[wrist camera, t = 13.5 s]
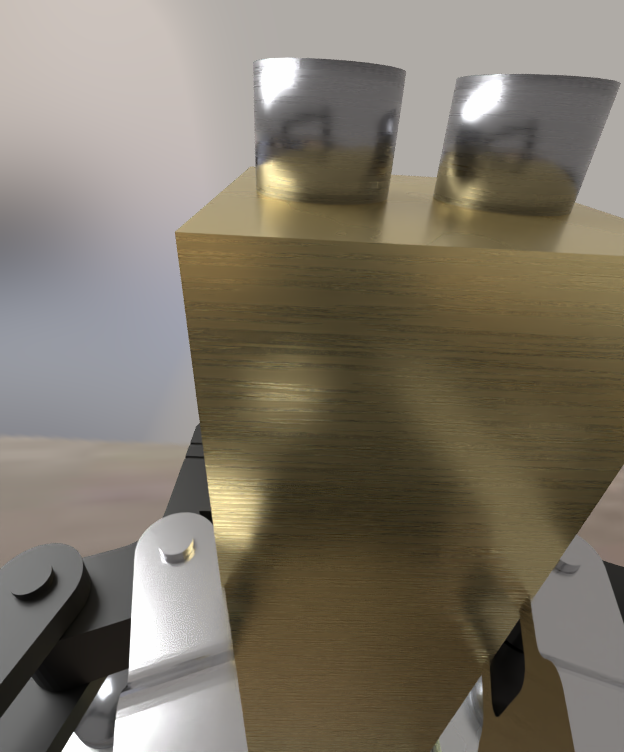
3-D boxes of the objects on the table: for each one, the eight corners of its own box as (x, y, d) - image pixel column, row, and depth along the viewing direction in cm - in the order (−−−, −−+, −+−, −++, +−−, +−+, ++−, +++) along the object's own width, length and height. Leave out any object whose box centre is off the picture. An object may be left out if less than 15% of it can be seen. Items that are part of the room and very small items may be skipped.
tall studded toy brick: (245, 774, 11) (146, 16, 2) (262, 601, 14) (248, 77, 6) (413, 776, 11) (891, 69, 2) (386, 605, 15) (537, 97, 6)
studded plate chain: (-236, 892, 11) (-316, 880, 10) (-36, 604, 18) (-64, 570, 17) (807, 890, 13) (883, 879, 11) (635, 621, 19) (668, 590, 18)
